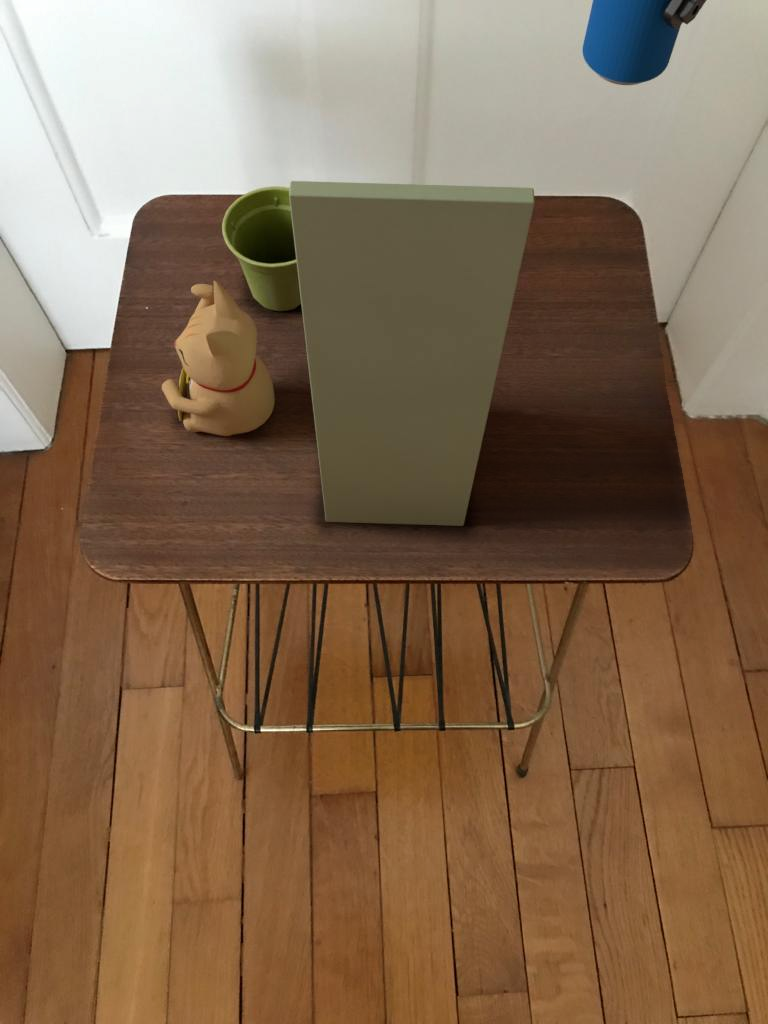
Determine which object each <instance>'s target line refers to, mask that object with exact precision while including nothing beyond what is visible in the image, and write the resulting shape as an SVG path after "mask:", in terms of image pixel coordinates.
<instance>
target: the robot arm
mask: <svg viewBox="0 0 768 1024" xmlns="http://www.w3.org/2000/svg"><path fill="white" fill-rule="evenodd" d="M706 2H707V0H672V1H671V2H670V4H669V5H668V7H667V8H666V10H665V12H664V14H663V19H664V21H665V22H666V23H667V25H669V26H670V27H672V28H674V29H675V30H676V29H678V28H679V27H680V28H681V27H682V25H683V24H686V25H689V24H690V23H691V22H692V21H693V20H695V19H696V17H697V16H698V14H699V12H700V11H701V9H702V8H703V7H704V4H705V3H706Z"/></svg>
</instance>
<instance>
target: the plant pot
mask: <svg viewBox="0 0 768 1024" xmlns="http://www.w3.org/2000/svg"><path fill="white" fill-rule="evenodd" d="M289 191H290V187H287V186H277V185H276V186H264V187H261V188H256V189H253V190H251V191H248V192H246V193H244V194H243V195H241V196H240V197H238V198H237V199H236V200H234V202H232V204H230V206H229V207H228V208H227V210H226V211H225V213H224V216H223V219H222V224H221V230H222V231H221V232H222V236H223V239H224V242H225V245H226V246H227V248H228V249H229V250H230V252H231V253H232V254H233V255H234V256H235V257H236V258H237V260H238V261H239V264H240V267H241V269H242V272H243V274H244V277H245V280H246V282H247V285H248V287H249V290H250V293H251V295H252V298H253V299H254V300H255V301H256V302H258V303H259V304H260V306H262V307H263V308H265V309H267V310H269V311H275V312H287V311H291V310H294V309H296V308H297V307H300V305H301V297H300V288H299V279H298V270H297V261H296V252H295V243H294V235H293V226H292V217H291V208H290V199H289Z"/></svg>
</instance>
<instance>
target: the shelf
mask: <svg viewBox="0 0 768 1024" xmlns="http://www.w3.org/2000/svg"><path fill="white" fill-rule="evenodd" d="M289 188H290V191H289V199H290V208H291V217H292V226H293V235H294V243H295V252H296V261H297V270H298V279H299V288H300V297H301V304H300V305H301V313H302V321H303V322H302V323H303V330H304V331H303V332H304V339H305V347H306V349H305V351H306V356H307V367H308V375H309V384H310V393H311V403H312V412H313V420H314V429H315V436H316V437H315V438H316V446H317V454H318V464H319V472H320V481H321V483H320V484H321V491H322V500H323V509H324V519H325V522H327V523H348V524H349V523H351V524H385V525H386V524H387V525H388V524H389V525H417V526H418V525H419V526H420V525H421V526H422V525H423V526H452V527H453V526H455V527H456V526H457V527H463V526H464V525H465V521H466V517H467V512H468V507H469V502H470V498H471V494H472V490H473V486H474V480H475V475H476V471H477V466H478V461H479V458H480V453H481V448H482V443H483V438H484V435H485V430H486V425H487V420H488V416H489V413H490V407H491V403H492V397H493V395H494V394H493V393H494V389H495V384H496V380H497V376H498V370H499V368H500V367H499V366H500V363H501V362H500V361H501V357H502V353H503V348H504V344H505V338H506V334H507V330H508V325H509V319H510V316H511V311H512V307H513V302H514V297H515V295H516V289H517V285H518V281H519V280H518V279H519V275H520V270H521V266H522V262H523V257H524V254H525V253H524V252H525V248H526V243H527V238H528V236H529V235H528V234H529V230H530V225H531V221H532V216H533V212H534V208H535V203H536V201H535V189H534V188H533V187H518V186H517V187H516V186H515V187H513V186H483V185H482V186H479V185H477V186H476V185H448V184H447V185H446V184H443V185H441V184H411V183H410V184H409V183H380V182H379V183H377V182H376V183H375V182H341V181H311V180H310V181H308V180H306V181H305V180H304V181H303V180H291V181H290V183H289Z"/></svg>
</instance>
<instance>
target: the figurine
mask: <svg viewBox="0 0 768 1024" xmlns="http://www.w3.org/2000/svg"><path fill="white" fill-rule="evenodd" d="M190 291H191V294H193V296H196V297H199V298H201V299H200V300H199V302H198V304H197V306H196V307H195V311H194V312H193V314H192V315H191V316H190V319H189V321H188V323H187V325H186V327H185V328H184V329H183V331H182V332H181V334H180V335H179V336H178V337H177V338H175V340H174V343H173V345H174V348H175V351H176V353H177V356H178V357H179V360H180V362H181V365H182V368H181V372H180V376H179V382H178V385H177V384H176V381H174V380H173V379H170V378H169V379H167V380H165V381H164V382H162V384H161V390H162V392H163V394H164V396H165V398H166V400H167V402H168V403H169V405H170V406H171V407H170V408H172V409H174V410H176V411H177V417H178V419H179V421H180V422H182V423H183V426H184V428H185V429H186V430H187V431H188V432H191V433H199V432H202V433H207V434H212V435H217V436H223V437H230V436H232V435H233V436H234V435H239V434H245V433H249V432H252V431H255V430H256V429H258V428H259V427H261V426H262V425H264V424H265V423H266V421H267V420H269V418H270V417H271V415H272V413H273V411H274V407H275V400H276V399H275V389H274V383H273V380H272V379H273V378H272V377H271V374H270V372H269V370H268V368H267V367H266V365H265V363H264V362H263V360H262V359H261V358H260V357H259V356H258V355H257V348H258V347H257V346H258V329H257V326H256V323H255V321H254V319H252V316H250V315H249V314H248V313H246V312H245V311H244V310H242V309H241V308H239V306H238V304H237V303H236V301H235V300H234V299H233V297H232V295H230V294H229V293H228V292H227V291H226V289H225V288H224V287H223V286H222V285H221V283H219V282H218V281H216V280H213V285H211V284H207V283H196V284H193V285H192V286H191V288H190ZM188 394H189V398H188Z"/></svg>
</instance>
